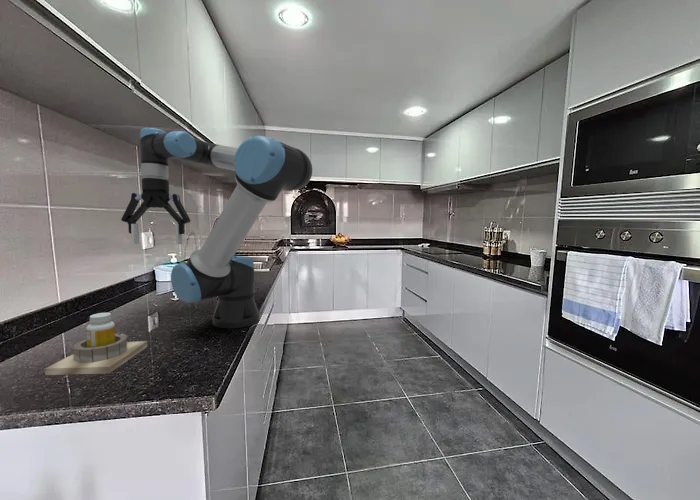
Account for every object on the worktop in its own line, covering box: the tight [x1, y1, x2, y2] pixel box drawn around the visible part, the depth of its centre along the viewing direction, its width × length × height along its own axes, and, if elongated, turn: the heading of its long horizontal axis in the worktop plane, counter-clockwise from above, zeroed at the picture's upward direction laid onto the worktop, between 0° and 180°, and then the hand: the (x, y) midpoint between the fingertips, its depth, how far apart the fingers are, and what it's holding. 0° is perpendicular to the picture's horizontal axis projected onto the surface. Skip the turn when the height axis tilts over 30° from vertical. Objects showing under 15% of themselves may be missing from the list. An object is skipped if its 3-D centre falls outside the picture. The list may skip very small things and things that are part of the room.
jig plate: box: [44, 333, 148, 376], centre depth 74 cm, size 13×15×4 cm
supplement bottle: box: [85, 312, 116, 348], centre depth 74 cm, size 5×5×10 cm
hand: (157, 244), depth 100 cm, fingers open, 13 cm apart
